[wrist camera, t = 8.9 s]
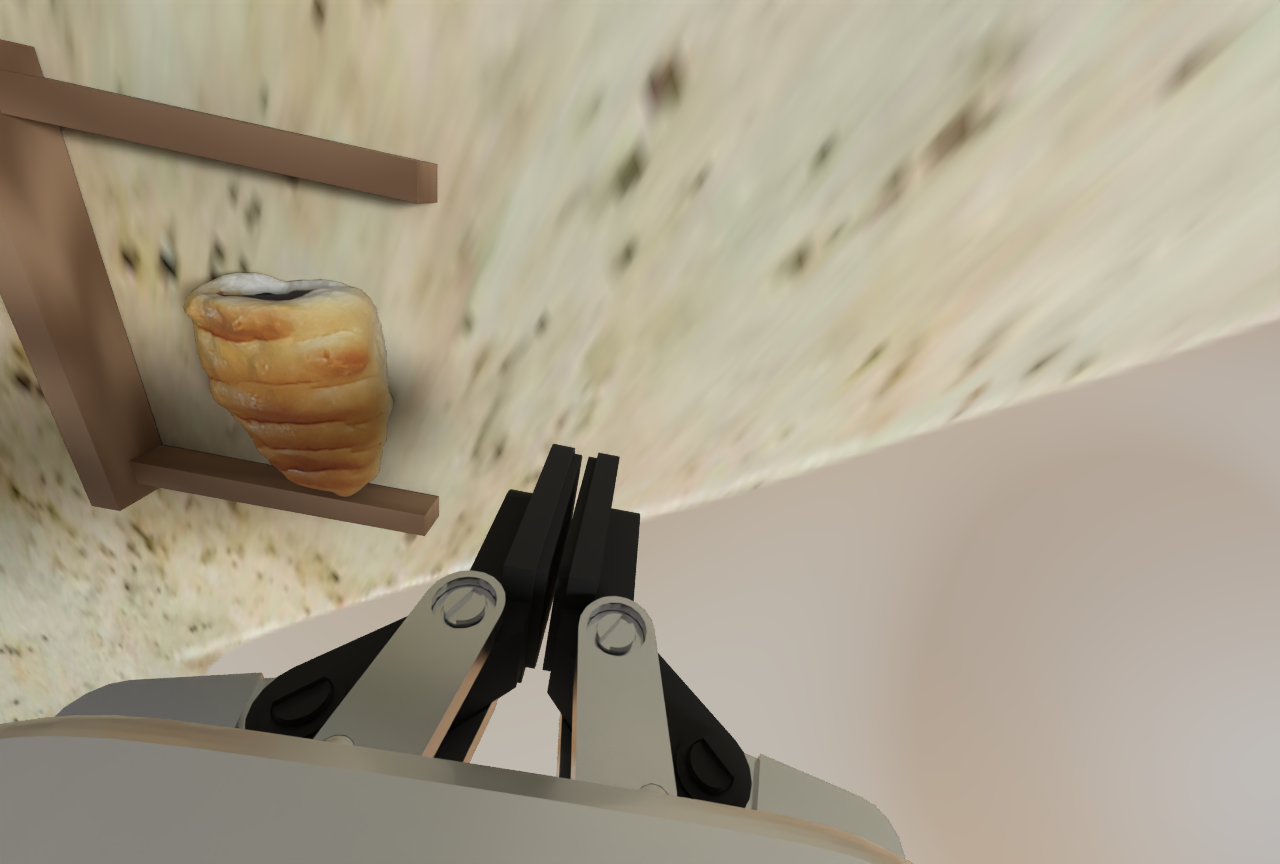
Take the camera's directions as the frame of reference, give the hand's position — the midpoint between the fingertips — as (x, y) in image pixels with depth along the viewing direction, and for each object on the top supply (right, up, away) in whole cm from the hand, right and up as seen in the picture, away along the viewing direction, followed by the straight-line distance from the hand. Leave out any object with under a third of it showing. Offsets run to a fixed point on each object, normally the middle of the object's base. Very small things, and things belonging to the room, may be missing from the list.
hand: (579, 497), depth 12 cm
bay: (-13, +5, +7) cm, 16 cm away
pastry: (-12, +4, +8) cm, 15 cm away
